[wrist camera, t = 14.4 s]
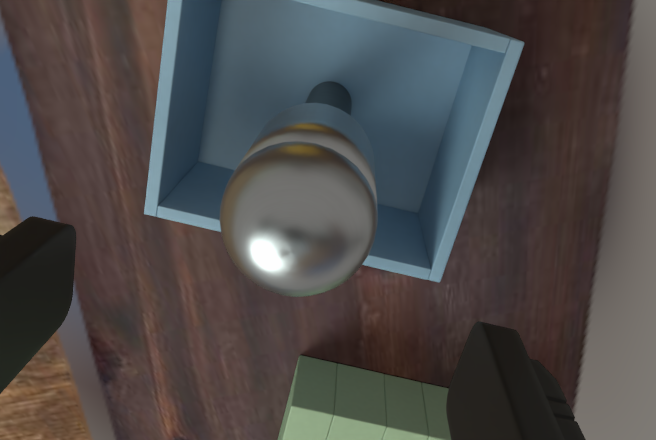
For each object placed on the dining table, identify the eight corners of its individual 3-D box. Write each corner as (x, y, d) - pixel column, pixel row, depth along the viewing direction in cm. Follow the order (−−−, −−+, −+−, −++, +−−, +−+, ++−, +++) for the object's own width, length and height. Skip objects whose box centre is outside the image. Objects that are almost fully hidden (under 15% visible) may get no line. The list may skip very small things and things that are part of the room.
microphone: (379, 73, 30) (401, 190, 13) (358, 151, 32) (355, 344, 15) (298, 52, 30) (215, 146, 13) (282, 132, 32) (189, 306, 15)
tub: (486, 27, 30) (525, 42, 23) (424, 220, 34) (440, 283, 27) (218, -40, 29) (172, -46, 22) (189, 165, 33) (143, 214, 26)
